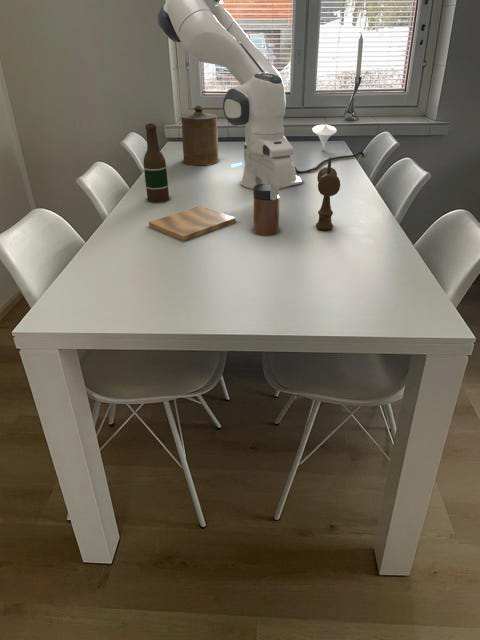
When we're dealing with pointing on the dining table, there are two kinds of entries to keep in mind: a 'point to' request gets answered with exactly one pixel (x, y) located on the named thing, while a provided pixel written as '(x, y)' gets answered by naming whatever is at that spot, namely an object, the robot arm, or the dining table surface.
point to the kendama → (327, 195)
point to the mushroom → (324, 133)
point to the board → (192, 223)
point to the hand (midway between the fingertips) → (266, 195)
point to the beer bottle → (155, 168)
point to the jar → (266, 216)
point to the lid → (262, 191)
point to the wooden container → (200, 138)
